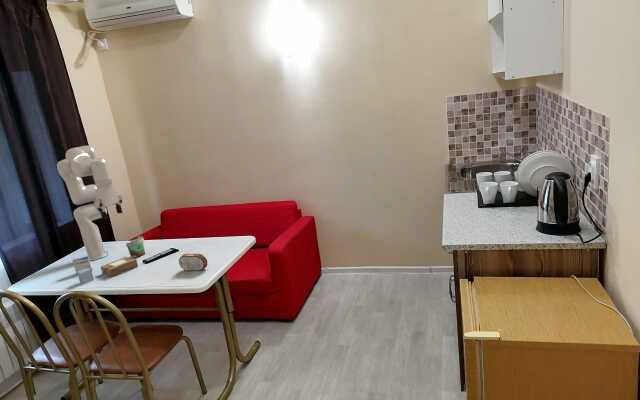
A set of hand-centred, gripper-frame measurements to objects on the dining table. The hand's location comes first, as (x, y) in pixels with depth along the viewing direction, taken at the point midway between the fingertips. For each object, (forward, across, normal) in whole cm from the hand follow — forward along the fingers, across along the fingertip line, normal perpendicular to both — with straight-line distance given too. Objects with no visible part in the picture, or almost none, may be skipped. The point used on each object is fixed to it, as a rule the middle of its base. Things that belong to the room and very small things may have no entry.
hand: (112, 216), depth 237 cm
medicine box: (+30, +5, -27) cm, 40 cm away
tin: (+30, -1, +44) cm, 53 cm away
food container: (+30, -19, -9) cm, 36 cm away
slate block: (+30, +16, -12) cm, 36 cm away
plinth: (+30, +1, -4) cm, 30 cm away
